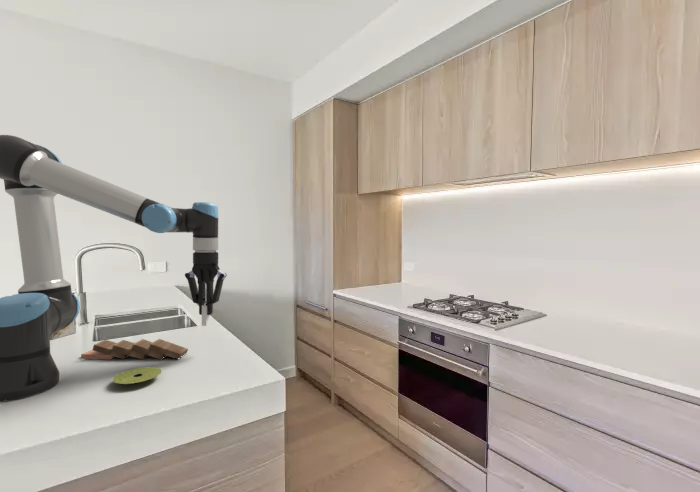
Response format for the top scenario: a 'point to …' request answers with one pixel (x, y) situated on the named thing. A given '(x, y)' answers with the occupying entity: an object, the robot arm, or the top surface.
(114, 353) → the domino
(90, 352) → the domino
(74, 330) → the coffee box
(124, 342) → the domino
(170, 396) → the top surface
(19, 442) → the top surface
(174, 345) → the domino
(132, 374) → the green round flat disc
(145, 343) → the domino
